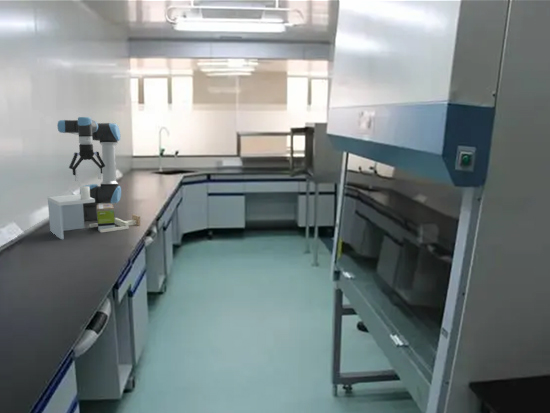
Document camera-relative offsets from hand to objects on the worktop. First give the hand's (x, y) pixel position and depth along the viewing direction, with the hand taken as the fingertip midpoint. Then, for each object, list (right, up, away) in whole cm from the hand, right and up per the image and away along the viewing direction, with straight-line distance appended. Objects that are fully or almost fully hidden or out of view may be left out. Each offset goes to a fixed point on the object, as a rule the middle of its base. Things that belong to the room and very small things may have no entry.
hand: (88, 180), depth 300 cm
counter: (-10, -32, +4) cm, 33 cm away
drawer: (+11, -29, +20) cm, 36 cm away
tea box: (+6, -30, +16) cm, 34 cm away
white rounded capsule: (-1, -11, -3) cm, 11 cm away
